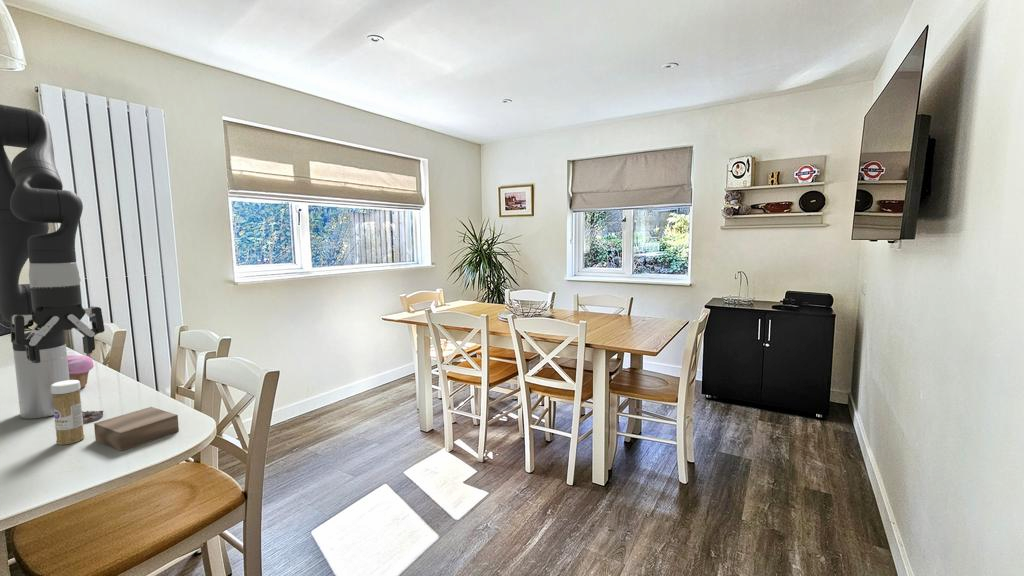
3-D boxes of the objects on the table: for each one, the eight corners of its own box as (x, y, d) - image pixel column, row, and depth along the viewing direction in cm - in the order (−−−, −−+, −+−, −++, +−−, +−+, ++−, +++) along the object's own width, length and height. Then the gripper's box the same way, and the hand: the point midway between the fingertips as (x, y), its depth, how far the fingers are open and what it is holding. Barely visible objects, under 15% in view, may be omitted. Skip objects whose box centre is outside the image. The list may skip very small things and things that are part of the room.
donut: (101, 424, 109) (100, 417, 109) (58, 431, 105) (57, 423, 105) (111, 412, 116) (110, 404, 116) (70, 418, 112) (69, 410, 112)
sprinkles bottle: (50, 445, 97) (44, 385, 95) (71, 436, 101) (65, 378, 100) (71, 445, 97) (65, 386, 95) (91, 436, 101) (85, 379, 100)
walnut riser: (95, 440, 99) (94, 423, 99) (152, 422, 109) (151, 406, 109) (122, 451, 95) (120, 433, 94) (178, 431, 105) (177, 414, 104)
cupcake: (58, 386, 133) (54, 354, 132) (97, 381, 138) (94, 350, 137) (51, 395, 126) (47, 361, 125) (93, 389, 131) (90, 356, 130)
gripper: (89, 280, 103) (95, 348, 105) (-1, 285, 90) (8, 363, 92) (106, 282, 100) (112, 352, 102) (15, 288, 87) (24, 368, 89)
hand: (62, 357), depth 97 cm, fingers open, 8 cm apart
